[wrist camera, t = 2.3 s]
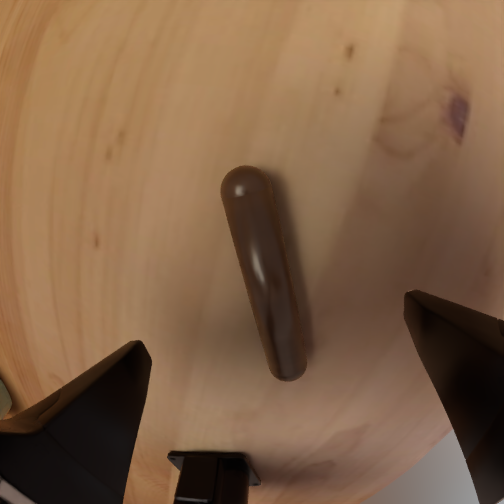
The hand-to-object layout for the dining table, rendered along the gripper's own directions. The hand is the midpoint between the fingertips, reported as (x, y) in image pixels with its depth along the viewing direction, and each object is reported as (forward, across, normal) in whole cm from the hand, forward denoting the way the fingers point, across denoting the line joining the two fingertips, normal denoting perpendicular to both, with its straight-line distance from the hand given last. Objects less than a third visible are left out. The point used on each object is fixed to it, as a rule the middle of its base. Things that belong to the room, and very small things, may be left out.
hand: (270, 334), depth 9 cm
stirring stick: (+4, 0, 0) cm, 4 cm away
